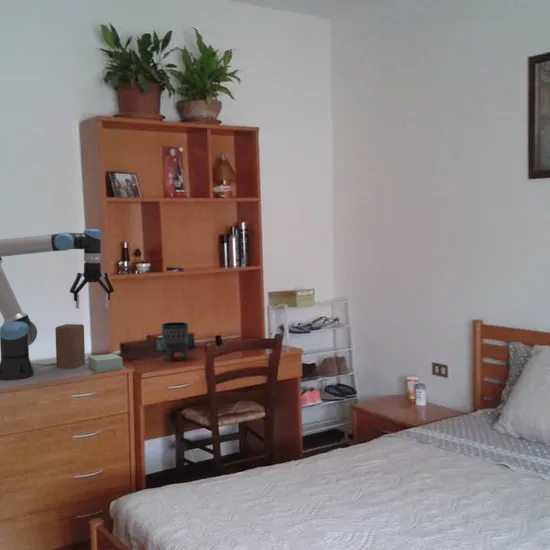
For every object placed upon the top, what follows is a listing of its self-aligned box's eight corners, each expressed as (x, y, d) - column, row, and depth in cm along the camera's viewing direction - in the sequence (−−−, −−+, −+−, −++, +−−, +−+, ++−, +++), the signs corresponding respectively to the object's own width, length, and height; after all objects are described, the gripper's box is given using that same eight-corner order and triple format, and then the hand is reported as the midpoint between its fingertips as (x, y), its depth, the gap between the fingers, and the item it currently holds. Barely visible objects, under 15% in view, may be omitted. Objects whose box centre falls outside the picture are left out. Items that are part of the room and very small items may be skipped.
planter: (177, 363, 324) (176, 326, 323) (156, 360, 331) (156, 324, 330) (193, 358, 335) (193, 323, 334) (173, 356, 342) (173, 321, 341)
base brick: (96, 371, 302) (96, 360, 302) (88, 367, 312) (88, 356, 312) (122, 368, 309) (122, 357, 308) (113, 363, 319) (113, 353, 318)
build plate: (93, 375, 300) (93, 372, 299) (83, 368, 313) (83, 366, 313) (128, 370, 308) (128, 368, 308) (116, 364, 322) (116, 362, 321)
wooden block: (75, 370, 310) (74, 327, 309) (55, 369, 312) (54, 326, 311) (85, 365, 320) (84, 324, 318) (66, 365, 322) (65, 323, 320)
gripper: (67, 262, 303) (67, 309, 304) (121, 262, 316) (120, 307, 318) (63, 262, 309) (62, 307, 311) (115, 261, 322) (115, 305, 324)
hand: (92, 307), depth 314 cm, fingers open, 13 cm apart
